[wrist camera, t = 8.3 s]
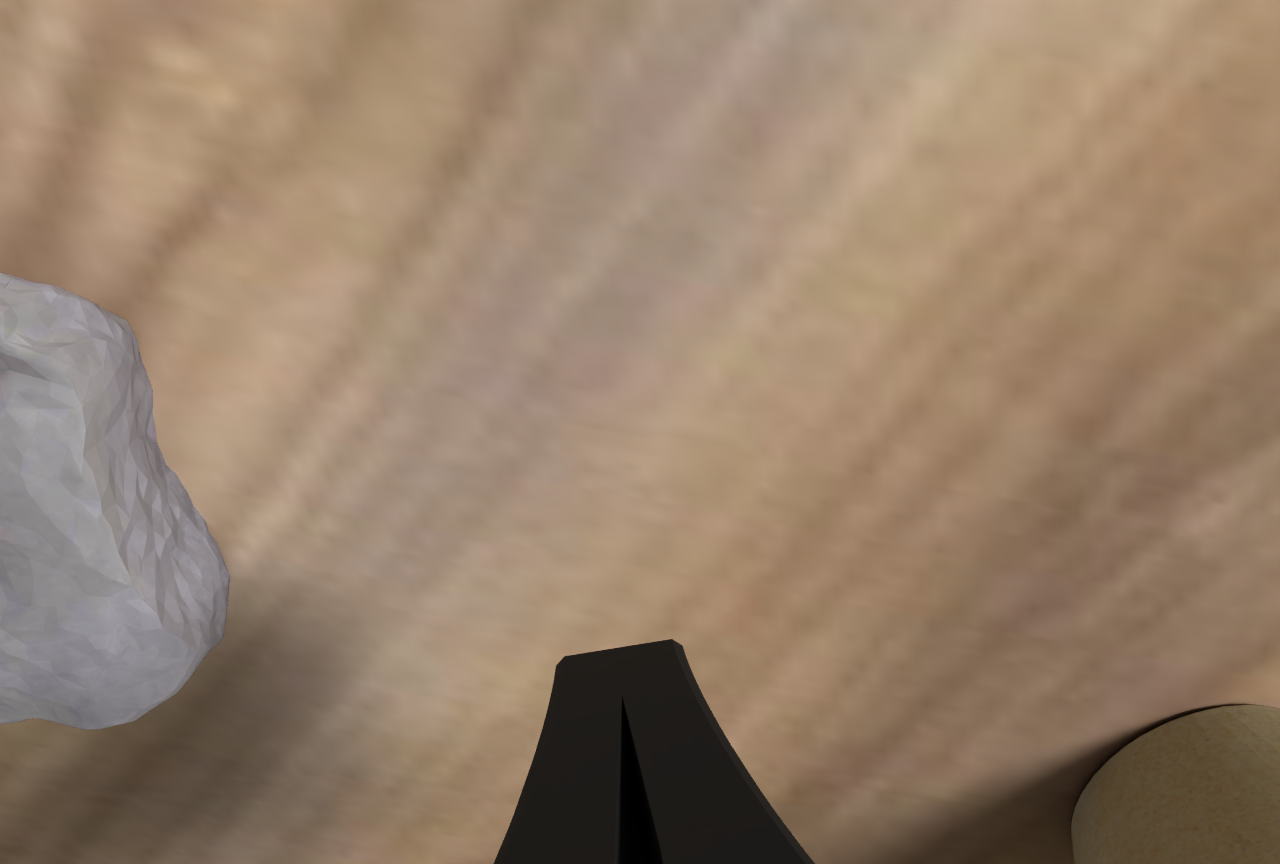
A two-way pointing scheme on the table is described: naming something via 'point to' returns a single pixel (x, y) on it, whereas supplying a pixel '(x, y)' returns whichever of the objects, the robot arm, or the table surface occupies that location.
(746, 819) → the robot arm
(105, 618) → the stone block
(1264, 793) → the plant pot
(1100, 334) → the table surface
